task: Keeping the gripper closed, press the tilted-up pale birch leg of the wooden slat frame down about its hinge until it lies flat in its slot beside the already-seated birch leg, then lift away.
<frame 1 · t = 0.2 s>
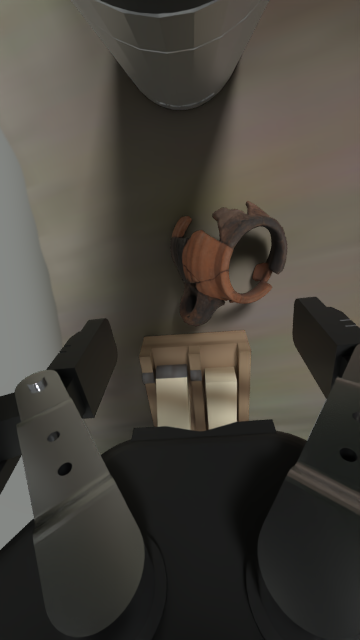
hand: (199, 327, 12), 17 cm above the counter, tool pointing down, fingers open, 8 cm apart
pottery mug: (215, 255, 29), on the counter
hinged leg: (176, 456, 30), point 9 cm above the counter, hinge at 40.0°
wooden slat frame: (199, 399, 39), on the counter
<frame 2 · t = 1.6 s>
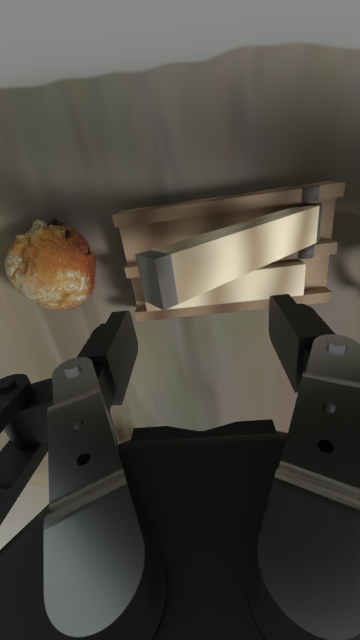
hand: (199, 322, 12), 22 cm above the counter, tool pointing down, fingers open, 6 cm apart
hinged leg: (249, 245, 23), point 9 cm above the counter, hinge at 40.0°
bread roll: (60, 261, 34), on the counter
wooden slat frame: (223, 251, 33), on the counter
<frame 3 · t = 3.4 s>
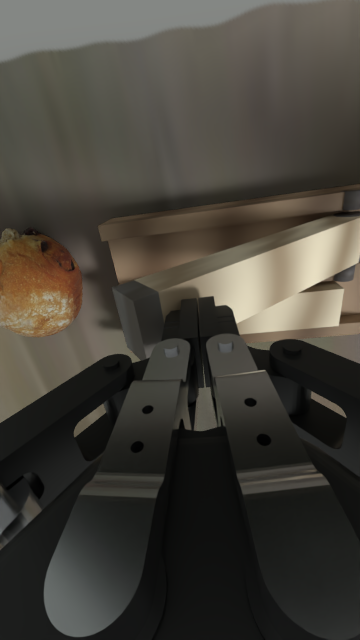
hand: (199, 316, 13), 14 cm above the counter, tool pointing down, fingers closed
hinged leg: (271, 268, 17), point 9 cm above the counter, hinge at 37.3°, touching gripper
bread roll: (40, 276, 29), on the counter
wooden slat frame: (237, 268, 27), on the counter
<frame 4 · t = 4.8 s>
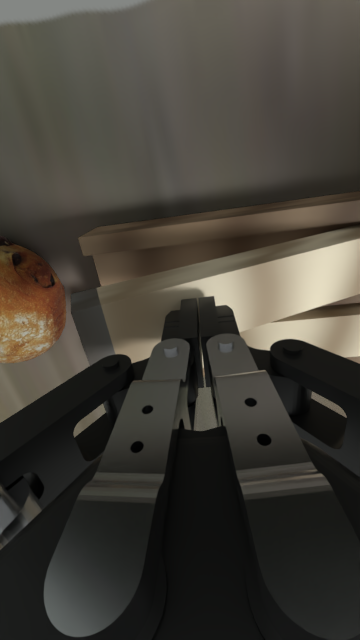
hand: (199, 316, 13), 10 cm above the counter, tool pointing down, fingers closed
hinged leg: (263, 285, 15), point 7 cm above the counter, hinge at 23.1°, touching gripper
bread roll: (17, 292, 25), on the counter
wooden slat frame: (244, 284, 23), on the counter
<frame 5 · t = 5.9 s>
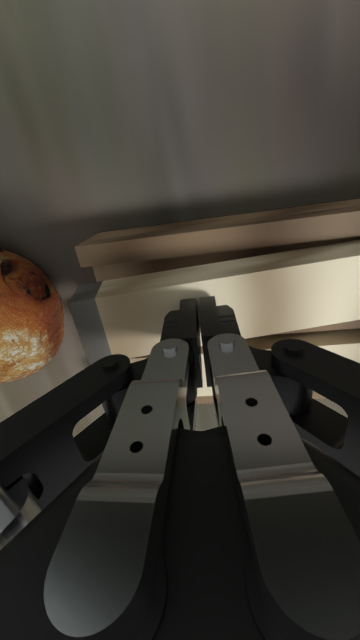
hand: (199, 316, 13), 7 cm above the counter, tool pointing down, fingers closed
hinged leg: (274, 292, 14), point 5 cm above the counter, hinge at 9.9°, touching gripper
bread roll: (10, 302, 22), on the counter
wooden slat frame: (265, 298, 20), on the counter
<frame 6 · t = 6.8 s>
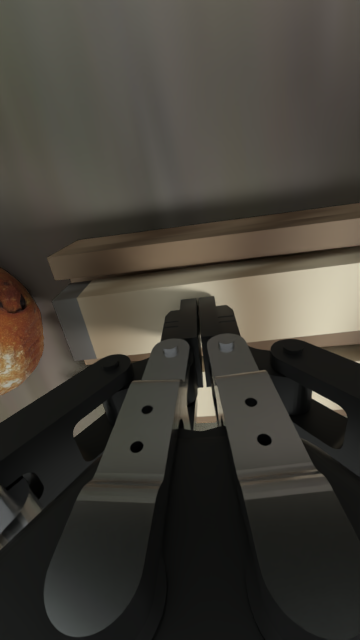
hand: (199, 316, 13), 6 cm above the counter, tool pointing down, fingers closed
hinged leg: (261, 298, 14), point 4 cm above the counter, hinge at 2.8°, touching gripper
wooden slat frame: (259, 309, 19), on the counter
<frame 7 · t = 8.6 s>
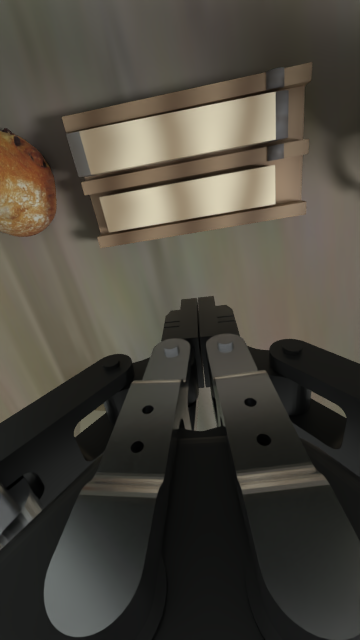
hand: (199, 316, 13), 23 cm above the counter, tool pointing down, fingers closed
hinged leg: (179, 136, 25), point 4 cm above the counter, hinge at 2.7°
bread roll: (18, 184, 32), on the counter
wooden slat frame: (190, 169, 30), on the counter
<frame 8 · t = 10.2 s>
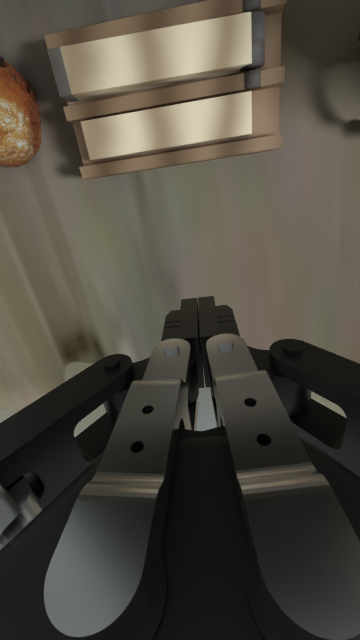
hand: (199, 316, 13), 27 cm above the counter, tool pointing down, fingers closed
hinged leg: (159, 59, 26), point 4 cm above the counter, hinge at 2.7°
bread roll: (3, 114, 32), on the counter
wooden slat frame: (173, 103, 31), on the counter
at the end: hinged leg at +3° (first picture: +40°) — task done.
